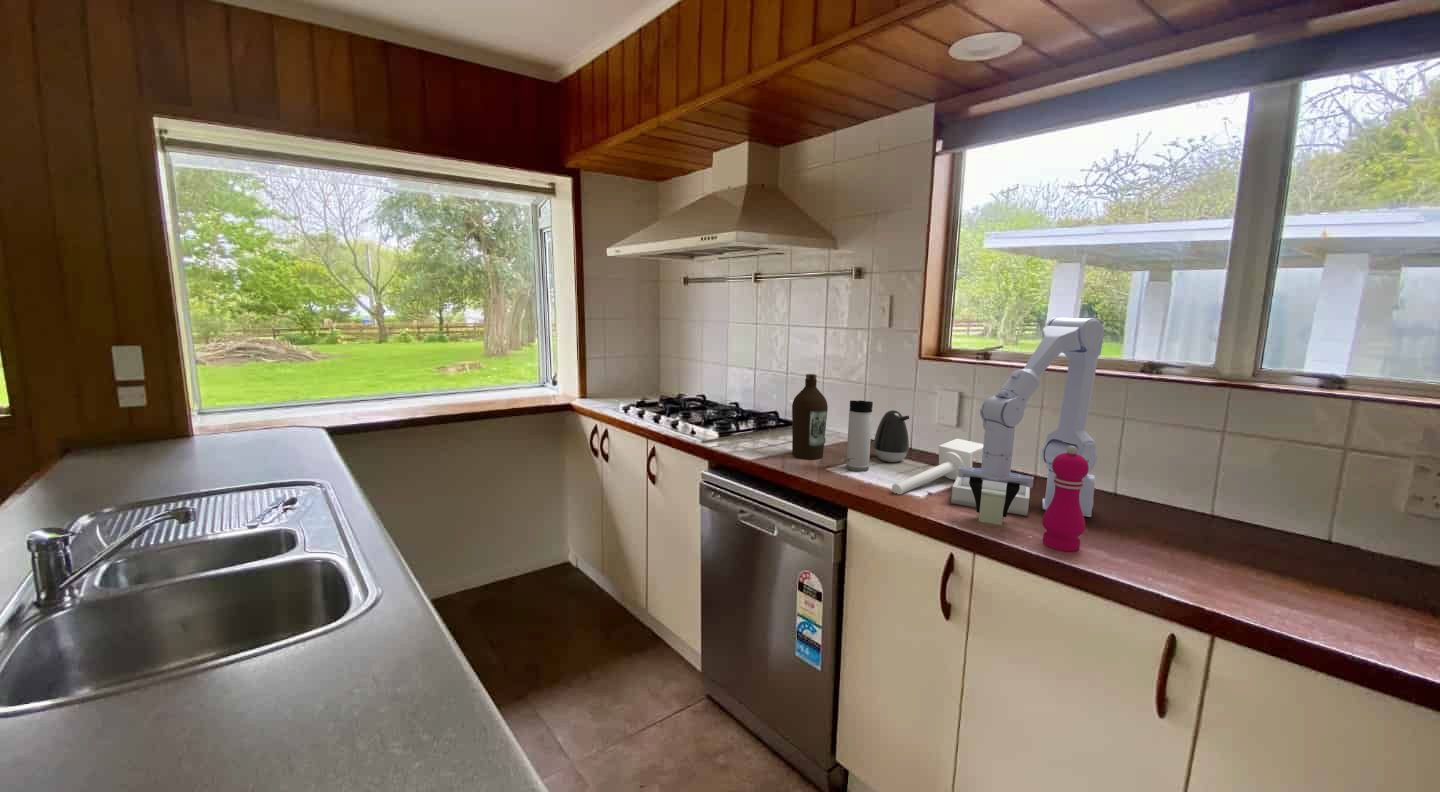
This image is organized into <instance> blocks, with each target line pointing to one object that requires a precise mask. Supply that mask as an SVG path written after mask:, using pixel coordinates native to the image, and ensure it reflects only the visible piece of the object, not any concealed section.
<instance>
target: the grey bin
mask: <svg viewBox="0 0 1440 792" xmlns="http://www.w3.org/2000/svg"><path fill="white" fill-rule="evenodd" d="M969 481H970V478H967V477H963V478H961V477H958V476H957V479H955V480H954V483H953V484H952V487H951V500H950V503H951V504H955V505H961V506H967V507H973V508H976V502H975V498H974V494H973V492H972V489H971V487H970V484H969ZM1006 487H1007V483H1001V482H994V481H988V480H983V484H982V491H983V489H986V490H992V491H999V492H1005V497H1006ZM1030 491H1031V488H1029V487H1027V486H1022V485H1020V489H1019V492H1018V493H1017V495H1016V496H1015V497H1014V499H1013V501H1012V502H1011V504H1010V506H1009V509H1008V512H1007V514H1008V513H1009V514H1014V515H1020V516H1026V517H1027V516H1028V513H1029V506H1030V505H1029V504H1030ZM981 494H982V493H981ZM1004 505H1005V502H1004Z"/></svg>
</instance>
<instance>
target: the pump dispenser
mask: <svg viewBox="0 0 1440 792" xmlns="http://www.w3.org/2000/svg"><path fill="white" fill-rule="evenodd" d="M909 419H910V415H902V414H901V413H900V412H899V411H898V410H894V409H891V410H888V411H887V412H885V413H884V415H883V416H882V418H881V419H880V421H879V424H878V425H877V428H876V432H875V434H874V435H875V436H874V440H873V449H874V453H875V455H876V457H877V458H879V460H882V461H883V462H886V461H887V462H888V463H898V461H899V462H900V461H902V460H904V459H905V458H906V457H907V454H908V451H909V450H910V442H909V441H910V440H909V433H908V428H907V424H906V422H905V421H907V420H909Z"/></svg>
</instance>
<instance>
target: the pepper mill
mask: <svg viewBox="0 0 1440 792" xmlns="http://www.w3.org/2000/svg"><path fill="white" fill-rule="evenodd" d="M1077 451H1078V450H1077V448H1076V447H1075V446H1069V447H1068V448H1067V452H1068V453H1063V454H1060V455H1058V456H1056V457H1055V459H1054V460H1053V463H1052V469H1053V471H1054V473H1055V474H1056V476H1054V481H1053V483H1054V484H1055V493H1054V497H1053V499H1052V502H1051V503H1050V505H1049V506H1048V508H1047V509H1046V510H1044V514H1043V515H1042V520H1041V524H1042V527H1044V529H1045V532H1044V533H1043V536H1042V543H1043V544H1044V545H1045V546H1047V547H1049V548H1051V549H1054V550H1057V551H1062V552H1072V553H1073V552H1077V551H1080V548H1081V539H1080V538H1079V537H1081V536H1082V535H1083V533H1085V531H1086V519H1085V516H1083V513H1082V510H1081V507H1080V502H1079V494H1080V489H1082V488H1083V483H1084V481H1083V480H1082V479H1083V478H1084V477H1085V476H1086V475H1087V473H1088V469H1089V467H1088V463H1087V461H1086V460H1085V459H1084V458H1083V457H1082V456H1080V455H1077V454H1076V453H1077ZM1088 474H1089V473H1088Z"/></svg>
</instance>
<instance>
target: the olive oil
mask: <svg viewBox="0 0 1440 792" xmlns="http://www.w3.org/2000/svg"><path fill="white" fill-rule="evenodd" d="M817 380H818V379H817V374H815V373H814V374H813V373H807V374H805V379H804V381H805V383H804V387H803V389H801V391H799V392H798V394H796V396H795V397H794V399H793V401H792V404H791V405H792V406H791V421H792V424H791V425H792V427H791V429H792V431H791V432H792V435H791V437H792V440H791V442H792V446H791V447H792V449H791V451H792V452H791V454H792V457H794V458H797V459H801V460H819V459H822V458H823V457H824V451H825V444H826V428H827V427H826V426H827V419H828V409H829V408H828V401H827V399H826V397H825V396H824V395H823V394H822V392H821V391H820V390H819V389H818V388H817V382H818V381H817Z"/></svg>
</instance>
